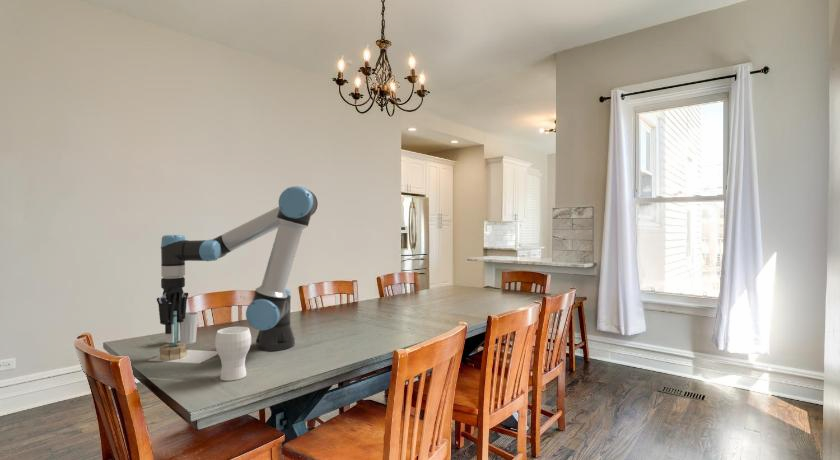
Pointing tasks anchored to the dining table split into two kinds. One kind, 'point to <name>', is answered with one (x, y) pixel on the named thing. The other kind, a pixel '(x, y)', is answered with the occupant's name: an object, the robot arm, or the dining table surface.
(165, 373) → the dining table surface
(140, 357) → the dining table surface
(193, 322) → the cup
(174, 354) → the bead
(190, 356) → the mat
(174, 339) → the teal marker pen
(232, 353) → the cup
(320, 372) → the dining table surface
